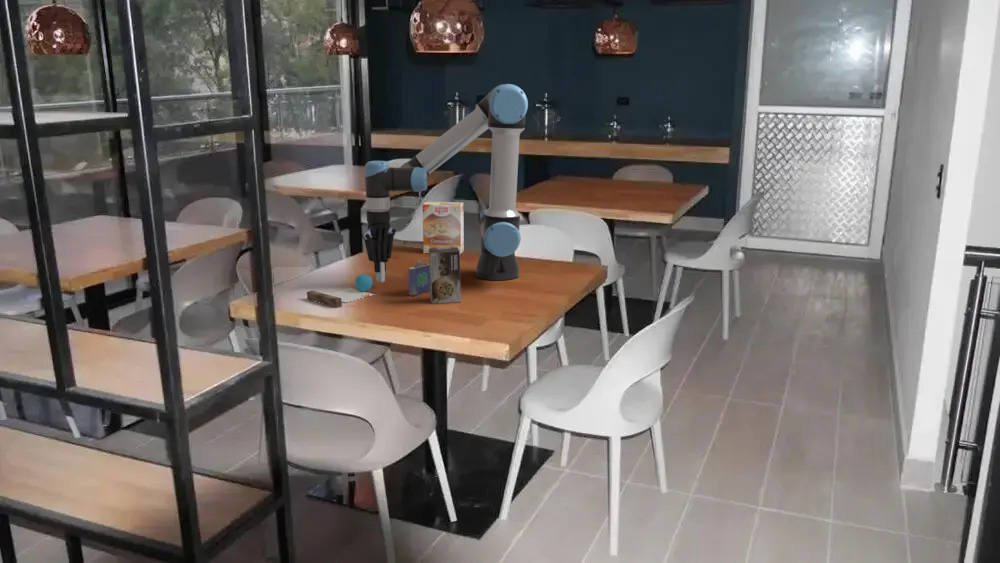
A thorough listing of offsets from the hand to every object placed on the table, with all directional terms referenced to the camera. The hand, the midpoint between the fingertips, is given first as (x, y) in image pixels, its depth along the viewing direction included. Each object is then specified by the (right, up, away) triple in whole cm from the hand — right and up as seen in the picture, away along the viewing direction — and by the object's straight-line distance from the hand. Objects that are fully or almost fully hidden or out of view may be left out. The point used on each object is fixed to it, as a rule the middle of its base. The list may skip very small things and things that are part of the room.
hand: (380, 281), depth 266 cm
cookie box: (+22, -6, -15) cm, 27 cm away
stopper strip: (-14, -7, -18) cm, 24 cm away
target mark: (-9, -5, -10) cm, 14 cm away
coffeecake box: (+17, +11, +52) cm, 56 cm away
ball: (-5, -1, -5) cm, 7 cm away
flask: (+14, -4, -6) cm, 15 cm away
